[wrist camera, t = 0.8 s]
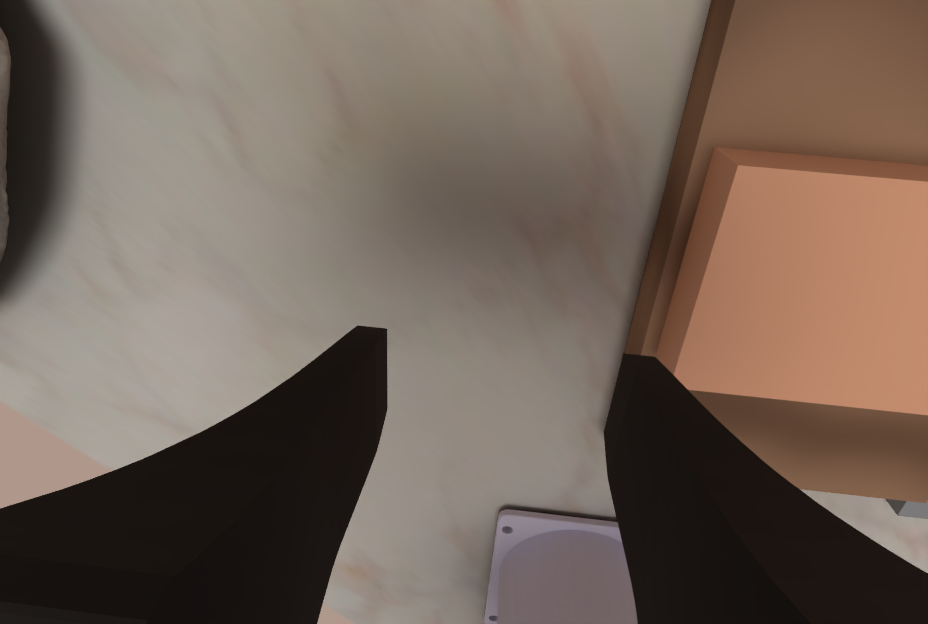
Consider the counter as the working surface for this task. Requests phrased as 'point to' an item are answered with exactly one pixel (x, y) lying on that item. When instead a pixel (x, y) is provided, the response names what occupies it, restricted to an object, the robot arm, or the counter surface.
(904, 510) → the mat
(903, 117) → the deck
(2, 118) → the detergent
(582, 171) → the counter surface
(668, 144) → the counter surface
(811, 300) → the tile
